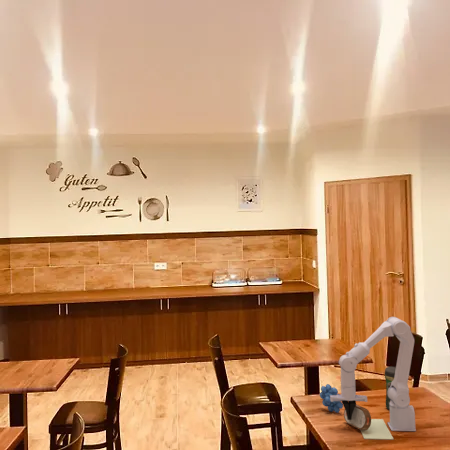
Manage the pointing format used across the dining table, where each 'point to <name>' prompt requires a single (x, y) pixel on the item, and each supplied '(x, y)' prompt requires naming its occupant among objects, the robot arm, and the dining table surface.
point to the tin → (359, 418)
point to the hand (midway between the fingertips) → (349, 419)
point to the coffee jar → (389, 382)
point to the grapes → (326, 398)
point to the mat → (377, 430)
